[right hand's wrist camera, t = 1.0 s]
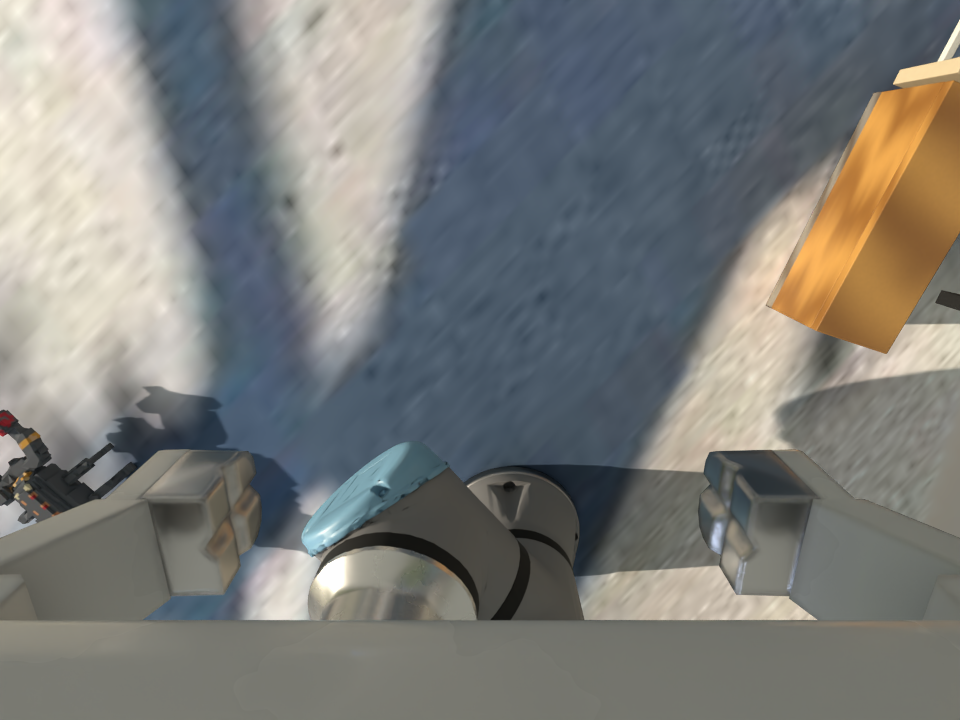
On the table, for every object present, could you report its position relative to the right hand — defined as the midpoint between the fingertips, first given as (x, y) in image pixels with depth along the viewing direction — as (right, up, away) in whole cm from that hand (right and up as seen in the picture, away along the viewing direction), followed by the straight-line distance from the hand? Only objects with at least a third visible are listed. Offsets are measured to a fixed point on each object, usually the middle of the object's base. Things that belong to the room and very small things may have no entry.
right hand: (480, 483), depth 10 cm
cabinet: (+34, +15, +42) cm, 56 cm away
